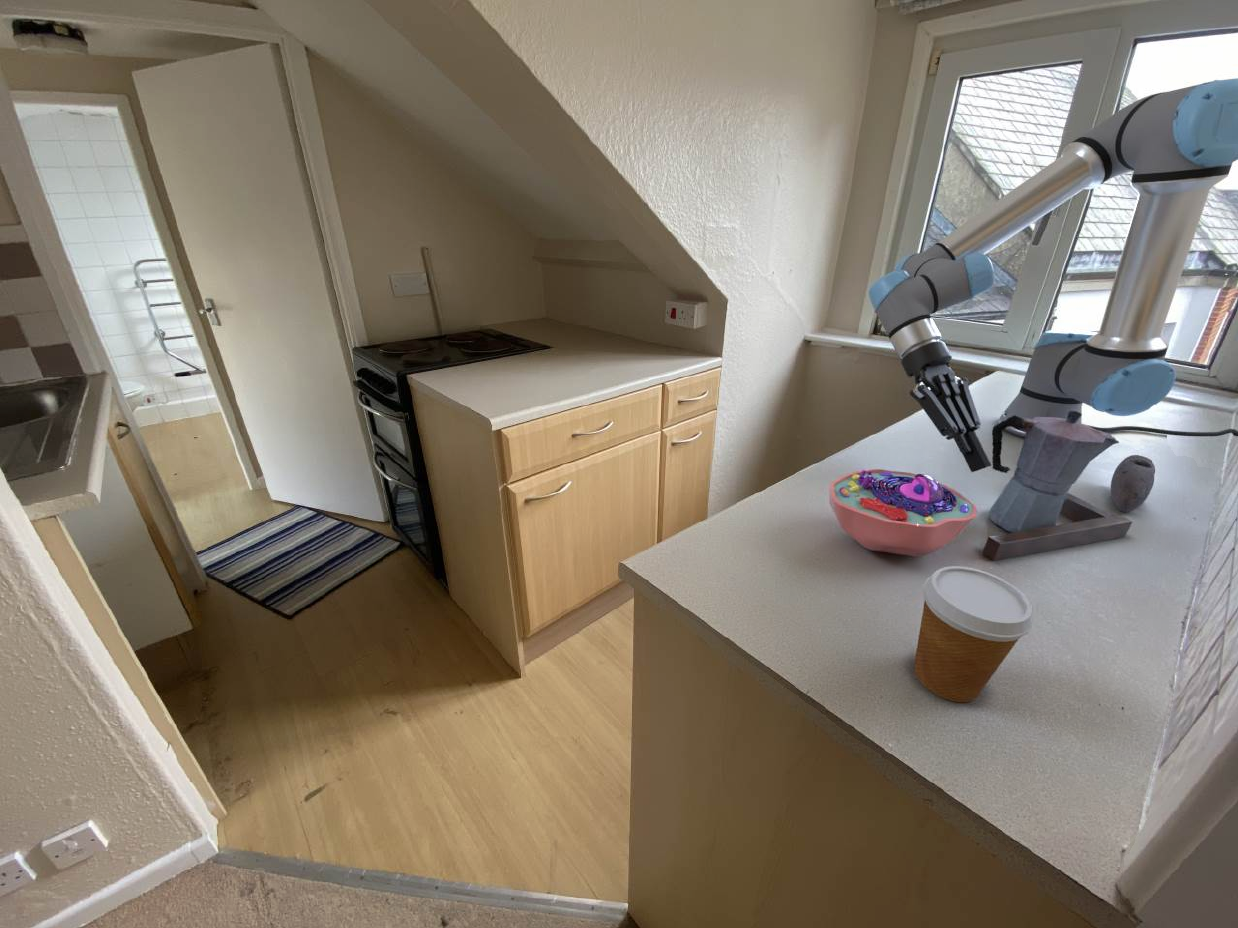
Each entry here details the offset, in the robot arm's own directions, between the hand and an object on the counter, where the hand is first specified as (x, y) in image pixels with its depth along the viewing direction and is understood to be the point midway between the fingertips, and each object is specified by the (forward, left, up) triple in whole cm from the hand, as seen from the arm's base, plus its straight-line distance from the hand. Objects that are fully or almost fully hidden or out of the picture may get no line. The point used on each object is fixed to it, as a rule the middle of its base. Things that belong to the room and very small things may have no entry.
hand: (981, 468), depth 91 cm
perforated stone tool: (-26, +7, -6) cm, 28 cm away
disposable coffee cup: (+36, +31, -6) cm, 48 cm away
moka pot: (-1, +9, -6) cm, 11 cm away
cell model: (+24, +8, -6) cm, 26 cm away
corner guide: (-1, +7, -6) cm, 9 cm away
